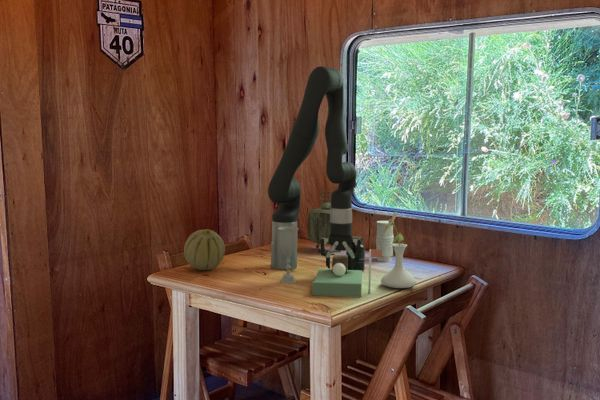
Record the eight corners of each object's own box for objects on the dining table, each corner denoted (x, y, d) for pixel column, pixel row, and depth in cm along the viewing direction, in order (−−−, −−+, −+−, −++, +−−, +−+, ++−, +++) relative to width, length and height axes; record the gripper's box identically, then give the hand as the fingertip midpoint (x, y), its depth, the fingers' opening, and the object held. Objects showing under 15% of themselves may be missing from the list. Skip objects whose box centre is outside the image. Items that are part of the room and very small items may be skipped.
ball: (332, 277, 200) (332, 264, 199) (332, 274, 204) (333, 261, 204) (345, 277, 199) (345, 264, 199) (345, 274, 204) (346, 261, 203)
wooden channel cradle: (332, 273, 205) (332, 258, 205) (333, 269, 211) (333, 255, 211) (346, 273, 205) (347, 259, 204) (347, 269, 211) (347, 255, 210)
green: (312, 295, 188) (312, 282, 187) (318, 275, 212) (318, 264, 211) (361, 296, 186) (361, 284, 185) (361, 277, 210) (362, 265, 210)
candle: (394, 261, 234) (395, 223, 232) (376, 261, 234) (377, 223, 233) (392, 257, 241) (393, 220, 239) (374, 257, 241) (375, 220, 239)
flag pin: (368, 293, 190) (369, 249, 188) (368, 293, 190) (369, 249, 189) (380, 293, 189) (382, 249, 188) (380, 293, 190) (381, 249, 188)
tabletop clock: (345, 251, 253) (346, 191, 250) (335, 255, 246) (336, 193, 243) (316, 247, 261) (316, 189, 258) (304, 250, 253) (305, 191, 250)
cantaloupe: (202, 263, 229) (201, 224, 227) (233, 268, 222) (233, 227, 220) (175, 271, 217) (174, 229, 215) (207, 276, 209) (206, 233, 207)
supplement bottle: (363, 272, 217) (364, 239, 216) (344, 271, 219) (345, 238, 217) (365, 268, 224) (366, 235, 222) (347, 266, 225) (347, 235, 224)
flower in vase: (392, 280, 207) (394, 207, 204) (422, 285, 199) (424, 210, 196) (371, 287, 197) (373, 211, 194) (402, 294, 189) (404, 214, 186)
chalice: (290, 285, 199) (291, 230, 197) (273, 282, 203) (273, 228, 200) (302, 280, 205) (303, 227, 203) (285, 277, 209) (286, 225, 207)
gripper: (319, 222, 204) (318, 270, 206) (362, 223, 202) (361, 271, 204) (320, 218, 211) (320, 265, 213) (362, 219, 209) (361, 266, 211)
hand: (340, 268), depth 208 cm, fingers open, 7 cm apart
